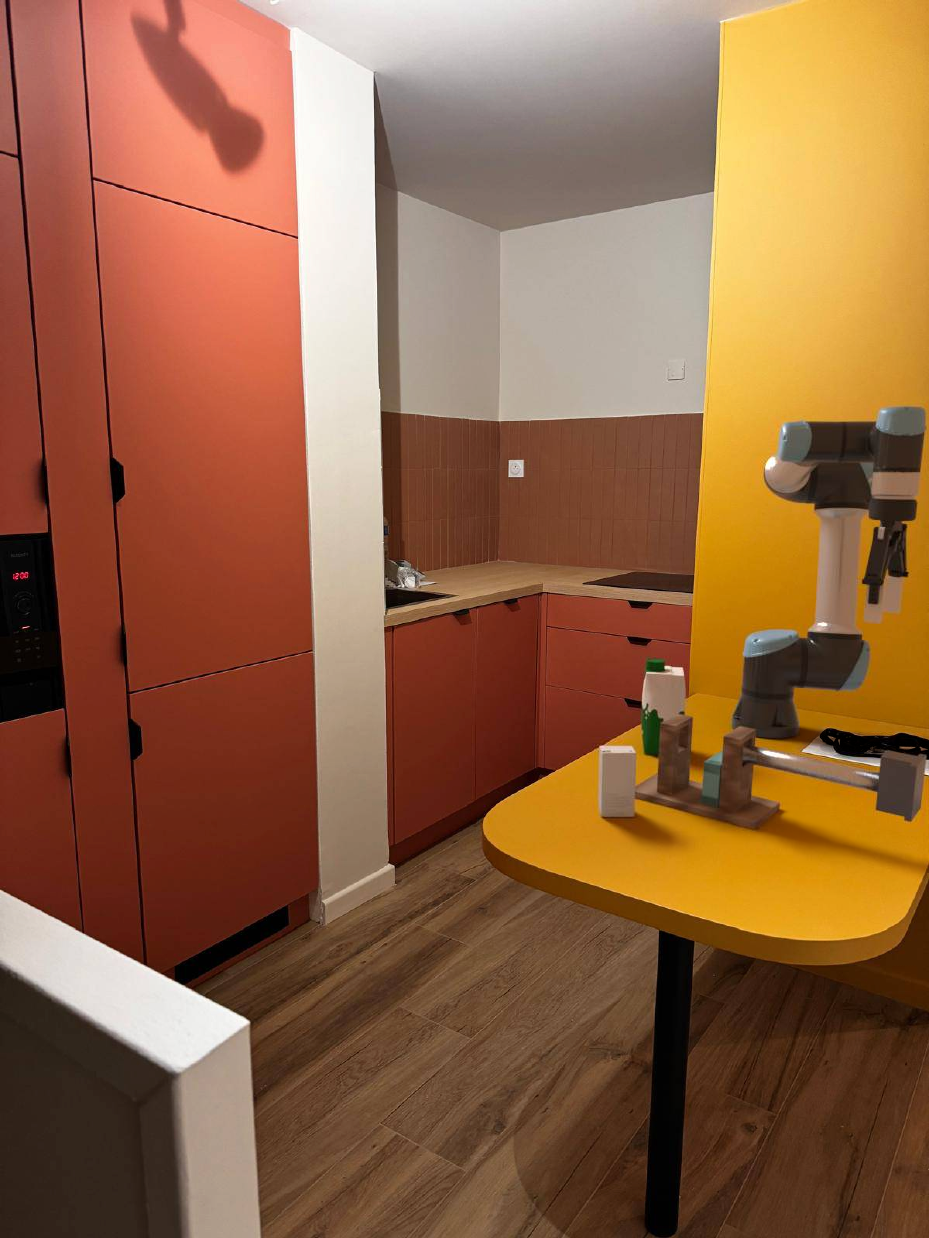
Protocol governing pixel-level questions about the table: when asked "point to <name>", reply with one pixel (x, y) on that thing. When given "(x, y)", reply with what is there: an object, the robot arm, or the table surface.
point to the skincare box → (617, 781)
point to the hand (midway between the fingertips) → (882, 617)
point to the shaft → (857, 776)
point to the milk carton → (660, 700)
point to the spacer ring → (712, 781)
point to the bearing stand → (687, 794)
